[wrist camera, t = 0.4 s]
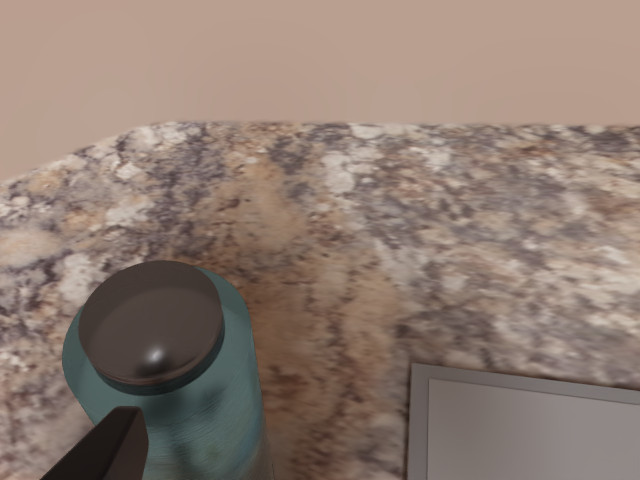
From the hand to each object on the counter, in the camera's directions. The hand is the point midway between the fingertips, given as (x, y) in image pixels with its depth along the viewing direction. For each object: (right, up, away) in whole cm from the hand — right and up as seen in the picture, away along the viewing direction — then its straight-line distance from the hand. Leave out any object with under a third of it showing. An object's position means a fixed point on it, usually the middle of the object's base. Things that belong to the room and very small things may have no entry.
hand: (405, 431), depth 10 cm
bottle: (-6, -7, +15) cm, 18 cm away
